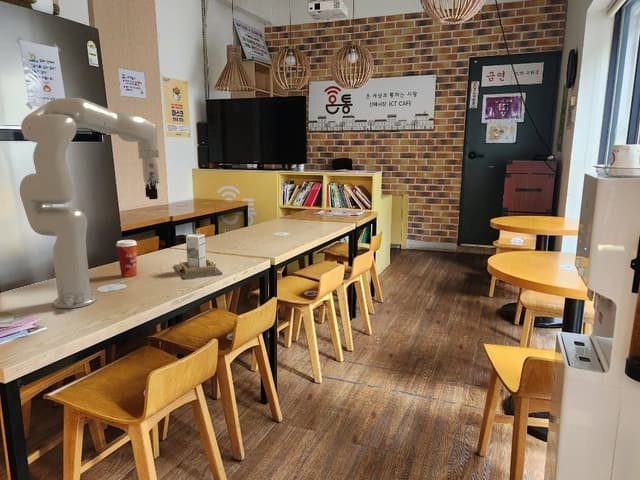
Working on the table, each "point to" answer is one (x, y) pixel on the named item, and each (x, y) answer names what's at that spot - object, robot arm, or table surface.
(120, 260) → the paper cup
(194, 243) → the syrup box
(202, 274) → the gray gold framed panel
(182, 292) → the table surface
